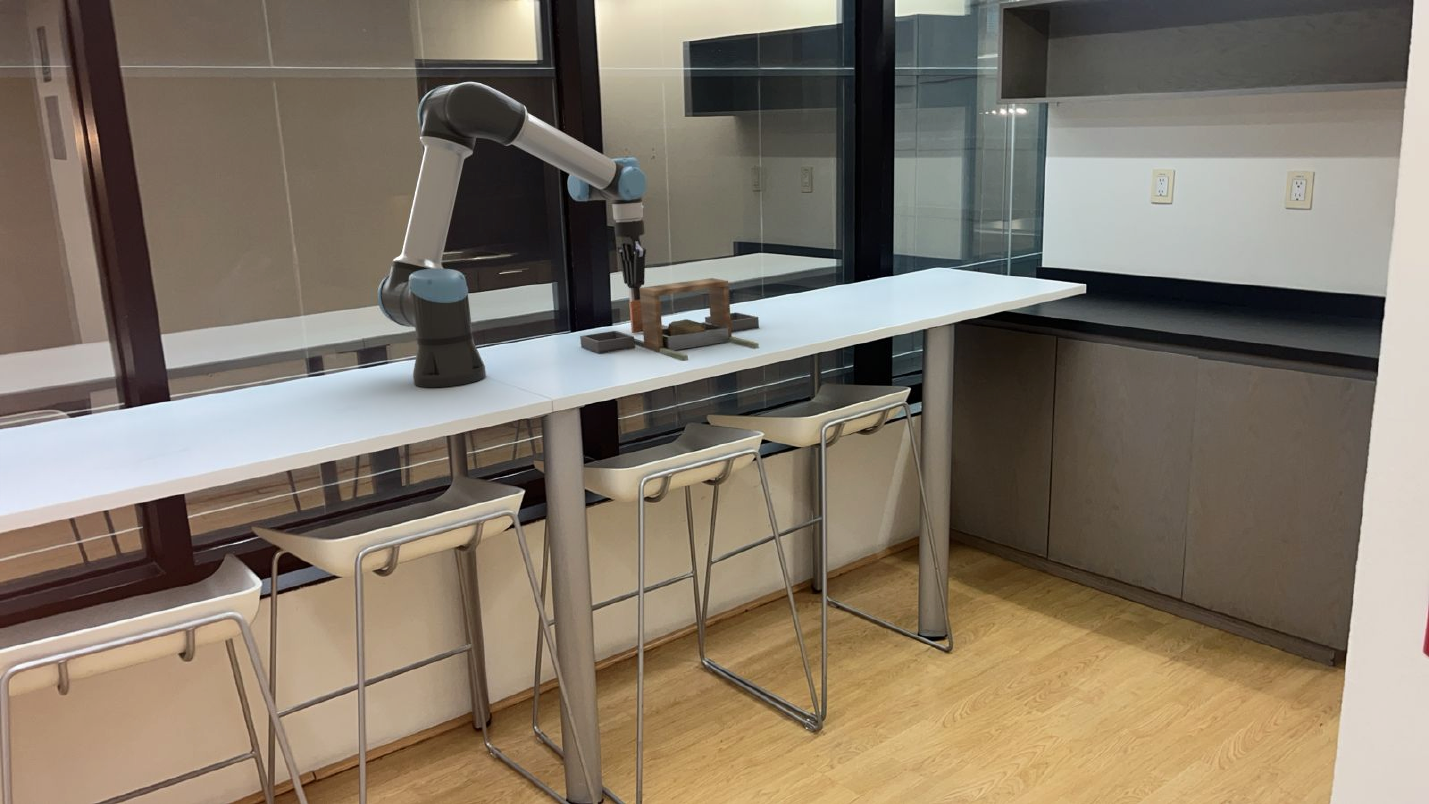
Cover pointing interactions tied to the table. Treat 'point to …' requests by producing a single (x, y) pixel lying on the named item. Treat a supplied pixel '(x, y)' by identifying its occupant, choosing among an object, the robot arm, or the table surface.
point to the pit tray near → (607, 342)
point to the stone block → (685, 327)
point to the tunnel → (651, 294)
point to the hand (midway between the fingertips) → (636, 312)
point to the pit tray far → (740, 322)
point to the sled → (684, 340)
